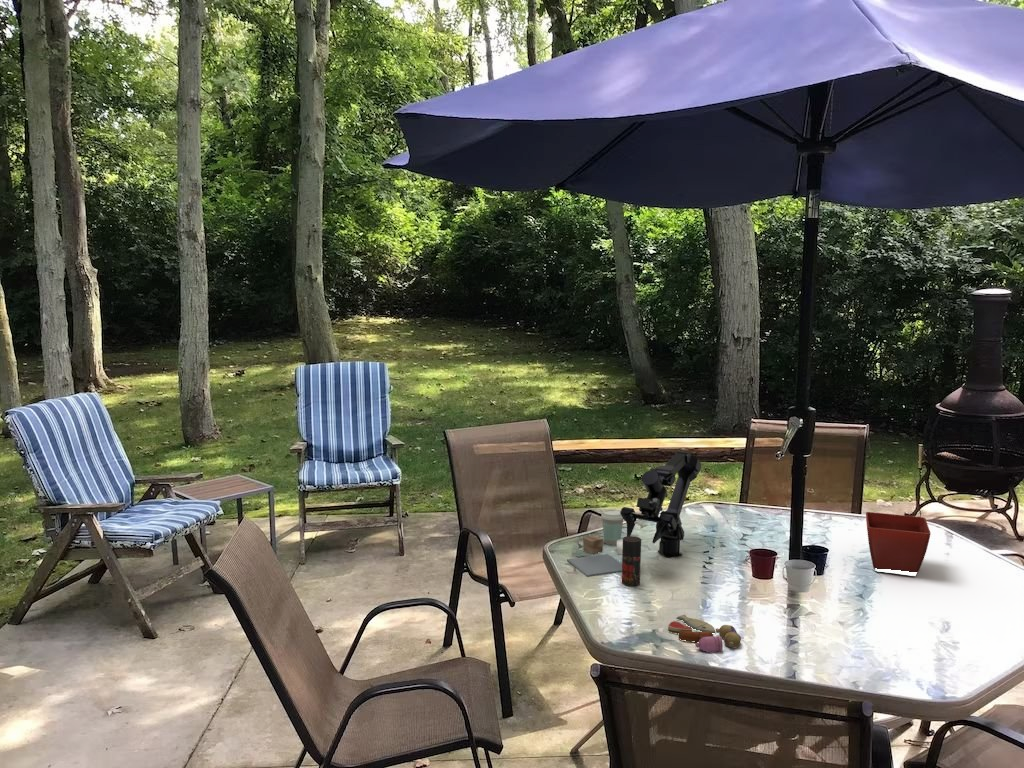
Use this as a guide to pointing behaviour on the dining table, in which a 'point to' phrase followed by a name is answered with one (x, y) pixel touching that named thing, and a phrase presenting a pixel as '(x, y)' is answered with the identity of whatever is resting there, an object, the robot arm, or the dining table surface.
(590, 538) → the walnut box
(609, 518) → the coffee cup
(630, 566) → the deodorant
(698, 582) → the dining table surface
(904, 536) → the plant pot
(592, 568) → the slate board
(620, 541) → the off-white smooth dome
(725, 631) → the toy food set
